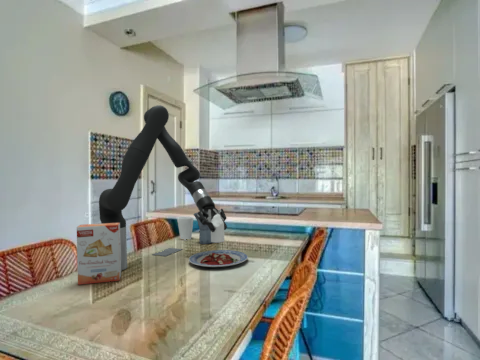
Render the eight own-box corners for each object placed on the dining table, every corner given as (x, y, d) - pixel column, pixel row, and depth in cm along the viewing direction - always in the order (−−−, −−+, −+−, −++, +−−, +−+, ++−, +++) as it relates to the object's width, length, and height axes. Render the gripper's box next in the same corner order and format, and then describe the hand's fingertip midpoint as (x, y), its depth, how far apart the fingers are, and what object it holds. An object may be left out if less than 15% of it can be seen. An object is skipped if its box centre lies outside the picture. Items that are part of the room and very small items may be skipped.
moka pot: (191, 242, 174) (190, 207, 173) (217, 239, 180) (216, 205, 180) (196, 245, 165) (195, 208, 165) (223, 242, 172) (222, 207, 171)
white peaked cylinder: (209, 215, 130) (210, 213, 135) (210, 242, 130) (211, 240, 136) (223, 214, 130) (223, 212, 136) (224, 242, 130) (224, 239, 136)
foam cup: (192, 240, 178) (191, 218, 178) (176, 241, 178) (175, 218, 178) (194, 237, 188) (194, 216, 187) (180, 237, 188) (179, 216, 188)
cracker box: (77, 285, 107) (75, 226, 107) (81, 280, 113) (79, 224, 112) (120, 281, 111) (118, 224, 110) (121, 276, 116) (120, 221, 116)
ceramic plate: (176, 266, 128) (176, 259, 128) (210, 252, 151) (210, 246, 151) (229, 274, 116) (229, 267, 116) (257, 258, 139) (257, 251, 138)
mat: (165, 256, 144) (165, 255, 144) (152, 255, 147) (152, 254, 147) (182, 249, 157) (182, 249, 157) (169, 248, 160) (169, 247, 160)
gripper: (193, 196, 133) (209, 226, 125) (219, 194, 143) (236, 222, 134) (186, 207, 137) (202, 237, 129) (212, 204, 147) (229, 232, 138)
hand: (219, 229), depth 131 cm, fingers closed on white peaked cylinder, 5 cm apart
